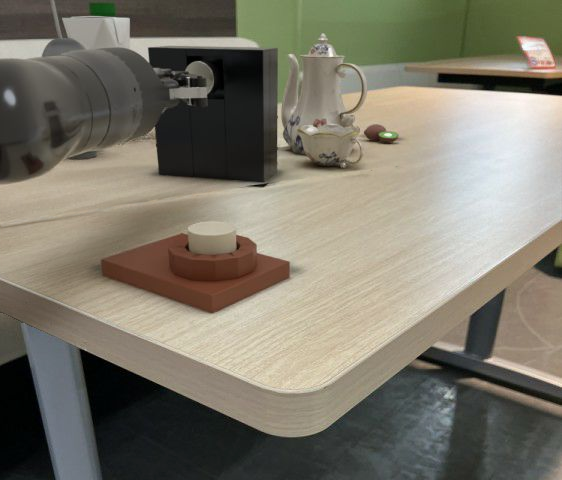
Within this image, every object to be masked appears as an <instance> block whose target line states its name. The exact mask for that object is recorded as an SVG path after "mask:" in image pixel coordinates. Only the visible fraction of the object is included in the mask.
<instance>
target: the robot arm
mask: <svg viewBox="0 0 562 480" xmlns="http://www.w3.org/2000/svg"><path fill="white" fill-rule="evenodd" d="M206 86H207V82H206V78H205V77H202V76H198V75H195V74H189V72H188V71H171V69H160V68H153V67H152V66H151V65H150V64H149V60H147V59H146V58H145V57H144V56H142V55H141V54H140V53H138V52H137V51H135V50H132V49H131V48H130V49H127V48H122V47H114V48H100V49H88V50H75V51H70V52H66V53H63V54H61V55H58V56H46V57H42V56H36V57H29V58H12V57H11V58H9V57H7V58H6V57H5V58H4V57H3V58H0V185H1V186H2V185H3V186H4V185H11V184H18V183H23V182H26V181H30V180H33V179H36V178H39V177H42V176H45V175H46V174H48V173H50V172H51V171H52V170H54V169H55V168H56V167H58V166H59V165H60V164H61V163H62V162H64V161H65V160H66V159H69V157H72V156H75V155H78V154H81V153H84V152H87V151H96V152H98V151H103V150H106V149H110V148H113V147H116V146H119V145H122V144H125V143H127V142H130V141H133V140H137V139H139V138H142V137H144V136H146V135H147V134H149V133H150V132H151V131H153V129H155V125H156V124H157V122H158V120H159V118H160V116H161V114H163V113H164V110H166V109H169V108H172V107H173V106H177V105H178V104H179V103H180V99H182V101H184V102H187V105H193V106H196V107H199V108H204V107H206V106H208V104H207V87H206Z"/></svg>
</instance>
